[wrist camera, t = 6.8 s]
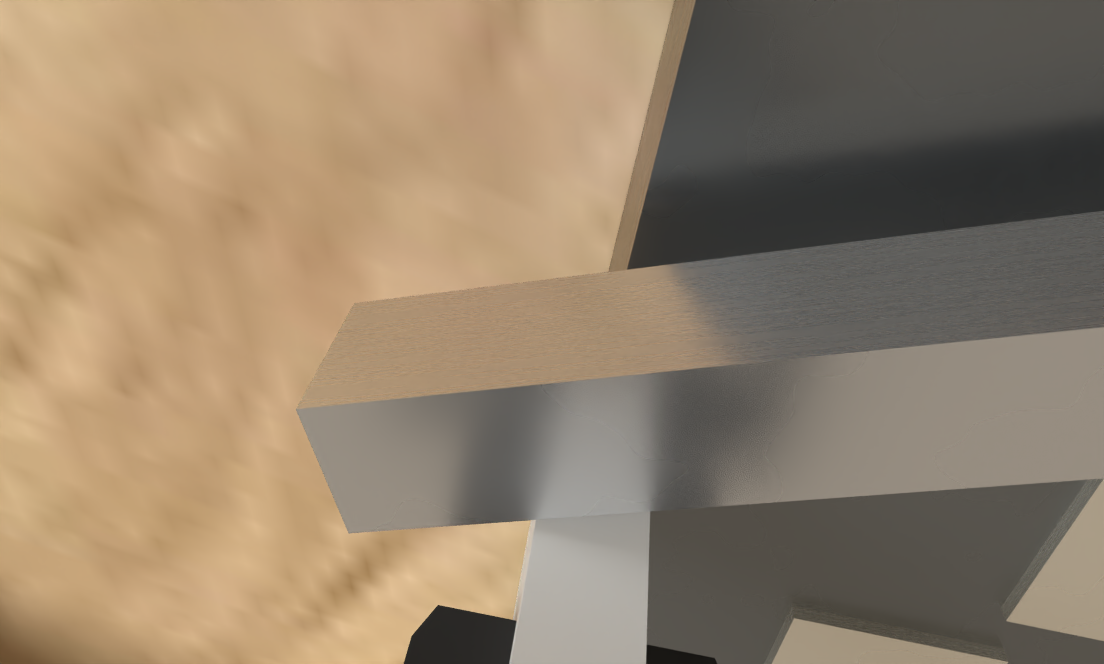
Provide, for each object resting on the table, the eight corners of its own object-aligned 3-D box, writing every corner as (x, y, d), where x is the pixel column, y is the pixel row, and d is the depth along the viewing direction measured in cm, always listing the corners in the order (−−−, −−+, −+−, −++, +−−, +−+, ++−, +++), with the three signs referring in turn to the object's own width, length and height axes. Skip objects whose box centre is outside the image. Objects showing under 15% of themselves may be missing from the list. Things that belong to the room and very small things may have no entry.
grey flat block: (740, -273, 13) (773, -276, 9) (1753, -57, 13) (2219, 33, 9) (522, 626, 24) (493, 803, 20) (1080, 739, 24) (1162, 937, 20)
